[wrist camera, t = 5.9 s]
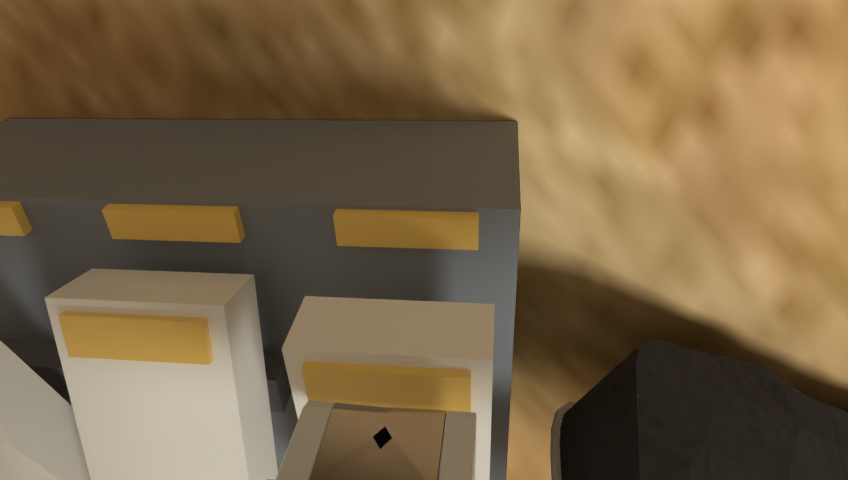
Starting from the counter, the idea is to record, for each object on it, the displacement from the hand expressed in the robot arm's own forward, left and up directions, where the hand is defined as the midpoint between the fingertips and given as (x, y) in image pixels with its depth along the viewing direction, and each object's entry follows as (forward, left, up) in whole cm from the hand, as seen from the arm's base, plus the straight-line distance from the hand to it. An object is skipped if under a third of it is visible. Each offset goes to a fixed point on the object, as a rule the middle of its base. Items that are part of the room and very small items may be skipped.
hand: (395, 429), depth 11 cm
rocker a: (-3, 0, -2) cm, 4 cm away
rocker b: (-3, +6, -2) cm, 7 cm away
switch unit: (-3, +6, -9) cm, 12 cm away
